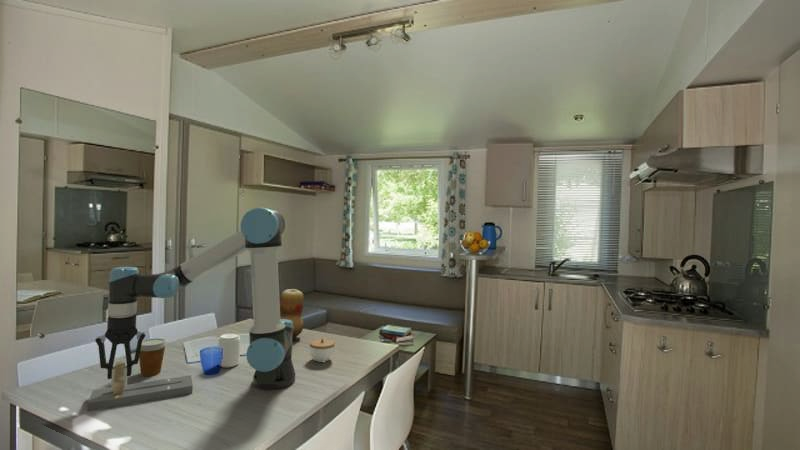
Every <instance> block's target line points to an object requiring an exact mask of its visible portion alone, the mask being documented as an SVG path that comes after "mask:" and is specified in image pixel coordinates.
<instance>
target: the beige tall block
mask: <svg viewBox="0 0 800 450" xmlns="http://www.w3.org/2000/svg"><path fill="white" fill-rule="evenodd" d="M125 365H126V360H123V361H116V362H115V366H114V367H115V373H114V395H116V394H122V393H123V391H124V388H123V383H124V367H125Z"/></svg>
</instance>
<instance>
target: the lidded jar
mask: <svg viewBox="0 0 800 450" xmlns="http://www.w3.org/2000/svg"><path fill="white" fill-rule="evenodd" d="M334 350H335V341H334V340H332V339H328V338H317V339H313V340H311V341H310V342H309V353H310V357H311V358H312V359H313V361H314V360H315V361H318V362H317V363H319V362H323V361H327V360H328V361H329V360H330V359H331V358H332V357H333V354H334V352H335V351H334ZM315 361H314V362H315ZM328 361H327V362H328ZM323 363H324V362H323Z"/></svg>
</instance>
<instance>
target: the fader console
mask: <svg viewBox="0 0 800 450" xmlns="http://www.w3.org/2000/svg"><path fill="white" fill-rule="evenodd" d="M188 394H193V380H192V375H191V374H189V375H182V376H175V377H170V378H162V379H157V380H150V381H142V382H136V383H129V384H127V386H126V388H124V391H123V393H122V394H116V395H114V390H111V386H110V387H103V388H96V389H92V392H91V394H90V397H89V399H88V401H87V407H86V408H87V409H86V411H87V412H91V411H97V410H102V409H107V408H114V407H120V406H125V405H131V404H138V403H142V402H148V401H154V400H160V399H166V398H171V397H172V398H173V397H177V396H183V395H188Z"/></svg>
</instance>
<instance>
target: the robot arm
mask: <svg viewBox="0 0 800 450" xmlns="http://www.w3.org/2000/svg"><path fill="white" fill-rule="evenodd" d="M239 226H240V227H239V228H240V230H239V231H236V232H235V233H232V234H231V235H230V236H227V238H224V239H223V240H221V241H219V242H217V243H215V244H214V245H211V246H210V247H209V248H207V249H205V250H203V251H202V252H200V253H198V254H197V255H195V256H193V257H191V258H190V259H187V260H186V261H184V262H182V263H181V264H179V265H177V266H175V267H174V268H172V269H169V270H167V271H163V272H160V273H156V274H155V273H151V274H149V273H148V274H147V273H146V274H145V273H140V272H139V271H140V270H139V268H138V267H135V266H119V267H118V266H117V267H114V268H112V269H111V270H110V274H109V281H108V287H109V288H108V303H107V304H108V306H107V316H108V317H107V326H106V327H107V329H106V331H105V333H104V334H102V335H99V336H97V337H96V339H95V343H96V345H97V346H98V355H99V357H98V358H99V365H100V368H101V369H106V370H107V380H110V381H111V386H110V387H111V390H114V373H115V366H114V363H115V358H116V352H117V347H118V346H119V345H124V350H125V351H124V352H125V363H126V364H125V367H124V383H123V388H126V386H127V385H128V377H131V376H132V370H133V368H132V367H133V366H134V365H138V363H139V362H140V361H139V355H140V350H141V345H142V341H143V340H145V337H146V332H145V331H143V332H142V331H139V330H138V329H137V314H136V313H137V312H138V311H137V309H138V307H137V305H138V298H152V299H153V298H156V299H157V298H160V299H165V298H167V299H169V298H173V297H175V296H176V295H177V294H178V292H179V291H180V290H182V289H184V288H186V287H187V286H189V284H191V283H193V282H194V281H196V280H198V279H200V278H202V277H203V276H204V275H207V274H209V273H210V272H212V271H213V270H216V269H217V268H219V267H220V266H222V265H224V264H225V263H228V262H229V261H232V260H233V259H234V258H236V257H237V256H239V255H241V254H243V253H245V252H249V254H250V273H251V293H252V294H251V295H252V312H253V313H252V315H253V324H252V326H251V327H250V328H249V329H248V331H249V332H248V333H249V345H248V346H247V350H246V360H247V363H248V364H249V366H250V367H251V368H253V369H254V370H255V371H254V373H253V375H252V376H253V377H252V384H253V386H254V387H255V388H258V389H261V390H279V389H283V388H287V387H289V386H292V385H293V384H294V383H295V382H296V375H297V374H296V371H295V367H294V363H293V360H292V358H293V357H292V355H293V339H292V337H293V322H292V321H291V320H287V319H280V285H279V284H280V281H279V263H278V261H279V260H278V259H279V258H278V256H279V255H278V252H279V250H280V249H282V247H283V245H282V234H283V233H284V231H285V228H286V221H285V218H284V216H283V215H282V213H280V211H278V210H276V209H274V208H268V207H266V206H265V207H263V206H260V207H255V208H252V209H250V210H248V211H246V213H245V214H244V215H243V216H242V217H241V221H240V225H239ZM135 336H136V339H137V344H136V349H135V353H134V358H133V359H132V350H131V341H132V340H133V339H134V337H135ZM106 339H107V340H108V341H109V343H111V348H110V349H111V350H110V354H109V359H108V362H107V358H106V357H107V356H106V347H105V342H106Z"/></svg>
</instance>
